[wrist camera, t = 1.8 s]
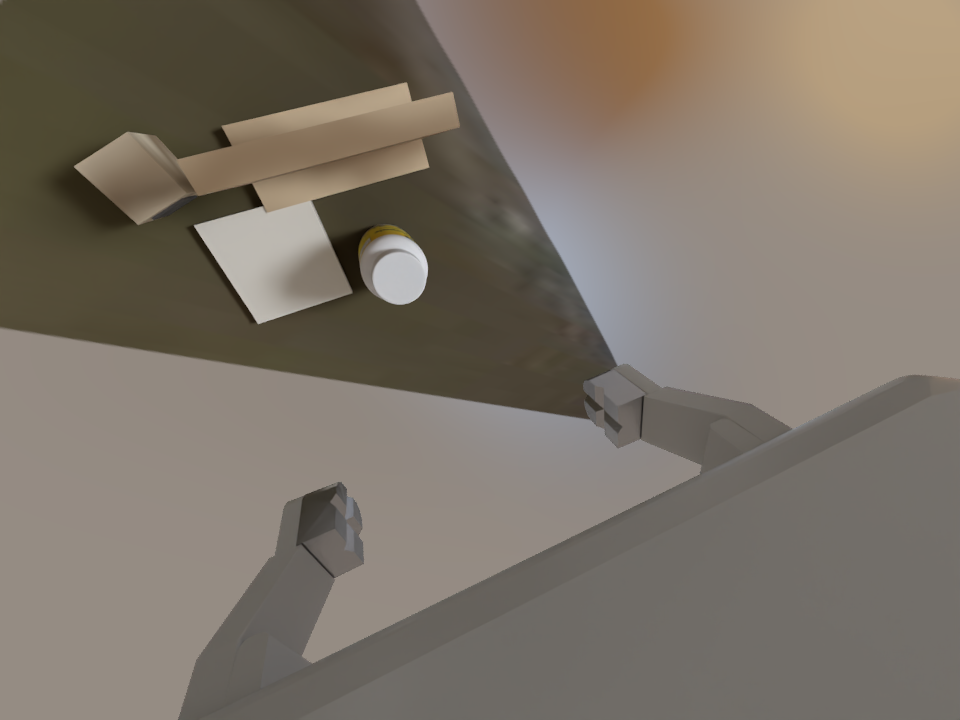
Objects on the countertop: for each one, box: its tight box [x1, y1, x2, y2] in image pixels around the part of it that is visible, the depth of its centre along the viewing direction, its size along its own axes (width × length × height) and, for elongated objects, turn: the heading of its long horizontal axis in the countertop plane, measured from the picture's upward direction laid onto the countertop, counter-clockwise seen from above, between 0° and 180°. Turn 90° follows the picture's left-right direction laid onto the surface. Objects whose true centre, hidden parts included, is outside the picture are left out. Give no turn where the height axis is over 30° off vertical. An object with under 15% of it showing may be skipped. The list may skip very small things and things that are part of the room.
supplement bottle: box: [358, 224, 428, 305], centre depth 30 cm, size 5×5×10 cm
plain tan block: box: [74, 132, 197, 225], centre depth 24 cm, size 4×4×4 cm
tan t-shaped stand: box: [176, 83, 460, 213], centre depth 23 cm, size 6×14×13 cm, turn 103°
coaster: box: [194, 200, 353, 324], centre depth 31 cm, size 9×9×1 cm
